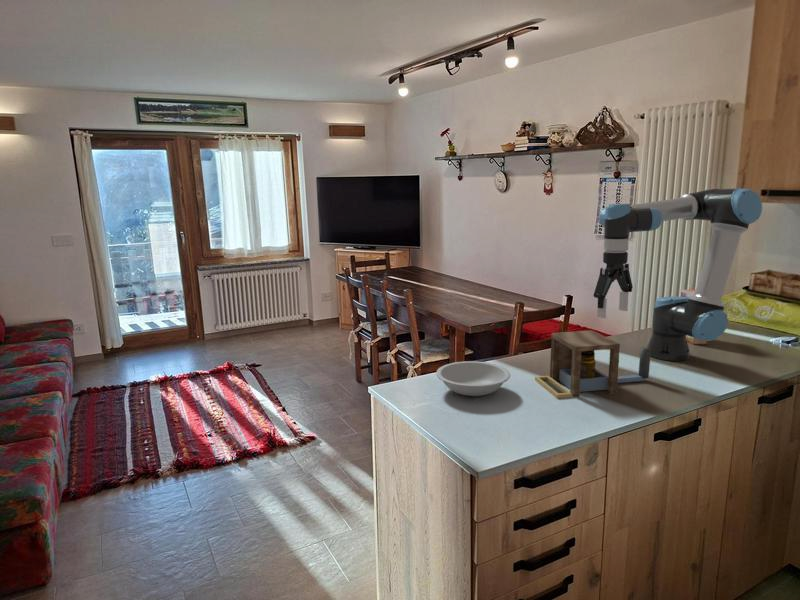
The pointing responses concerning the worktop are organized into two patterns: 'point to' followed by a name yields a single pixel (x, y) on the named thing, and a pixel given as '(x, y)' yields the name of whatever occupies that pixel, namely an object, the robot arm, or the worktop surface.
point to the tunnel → (569, 356)
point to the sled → (602, 380)
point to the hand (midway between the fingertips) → (612, 313)
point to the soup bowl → (473, 377)
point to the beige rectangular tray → (553, 387)
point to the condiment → (587, 365)
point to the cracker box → (690, 339)
